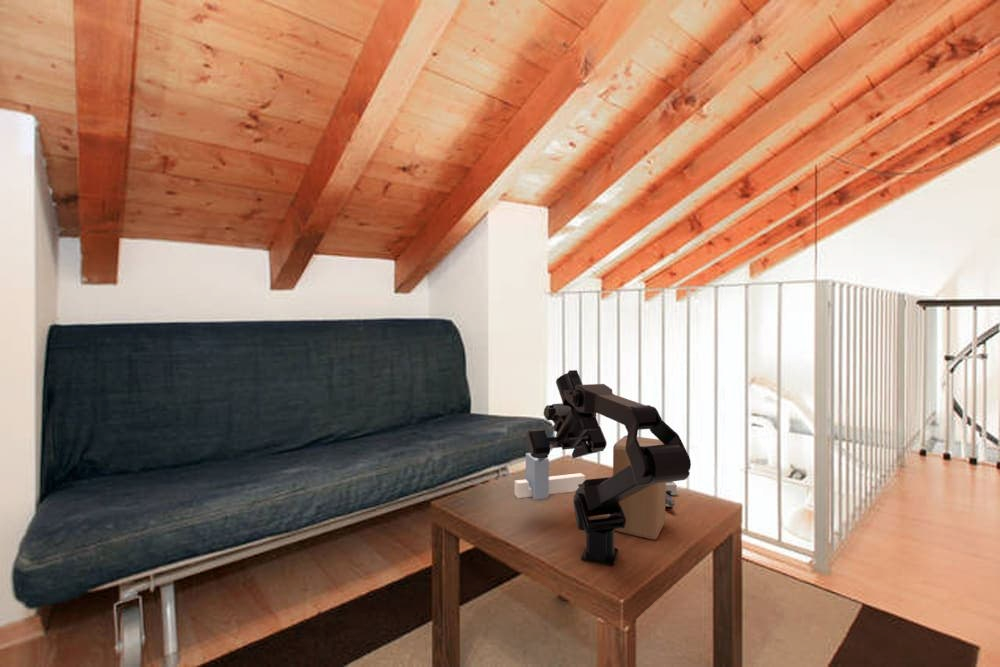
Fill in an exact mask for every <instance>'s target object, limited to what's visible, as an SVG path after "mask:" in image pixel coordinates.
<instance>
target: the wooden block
mask: <svg viewBox="0 0 1000 667" xmlns="http://www.w3.org/2000/svg"><path fill="white" fill-rule="evenodd" d="M637 440H638V443H639V445H640V446H652V445H664V444H663V443H662V442H661V441H660V440H659V439H658V438H650V437H644V436H643V437H642V436H637ZM626 441H627V435H624V436H623V437H622V438H620V439H618V441H617V442H615V443H614V444H613V447H612V450H613V451H612V453H613V454H612V457H613V458H612V476H613V475H615V474H617V473H618V472H620V471H621V470H623V469H624V468H626V467H628V466H629V465H630V461H629V457H628V455H627V452H626V449H625V447H626ZM666 493H667V492H666V482H665V483H657V484H653V485H651V486H649V487H647V488H645V489H643V490H641V491H639V492H637V493H635V494H633V495H631V496H629V497H627V498H625V499H624V500H622V501H620V505H621V507H622V510H623V513H624V515H625V518H626V523H625V527H624V528H616V529H615V532H619V533H623V534H629V535H631V536H632V535H633V536H637V537H640V538H644V539H649V540H657V539H658V537H659V535H660V532H662V529H663V527H664V525H665V523H666V506H665V495H666Z"/></svg>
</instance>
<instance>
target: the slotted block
mask: <svg viewBox="0 0 1000 667" xmlns="http://www.w3.org/2000/svg"><path fill="white" fill-rule="evenodd" d="M549 469H550V459H549V457H548V458H546V459H544V460H543V461H541V462H539V461H538V458H534V457H532V456H531V453H530V452H526V453H525V479H526V480H527V481H528V482H529V487H530V488H531V489H533V497H532V499H533V500H534V501H536V500H537V501H538V500H544V499H549V498H550V497H549V495H550V494H549V477H550V474H549V473H550V470H549Z"/></svg>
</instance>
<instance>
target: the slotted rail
mask: <svg viewBox="0 0 1000 667" xmlns="http://www.w3.org/2000/svg"><path fill="white" fill-rule="evenodd" d="M585 480H586V475H585V474H583V473H582V472H579V473H571V474H569V473H568V474H562V475H561V474H560V475H552V476H551V475H550V476H549V495H556V494H564V493H572V492H576V490H577V489H578V488H579V486H578V484H582V483H583V482H584V481H585ZM514 496H515V497H516V499H524V498H530V497H532V498H533V489H531V488H530V487H529V482H528V481H527V480H526V478H524V479H517V480H514Z"/></svg>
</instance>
